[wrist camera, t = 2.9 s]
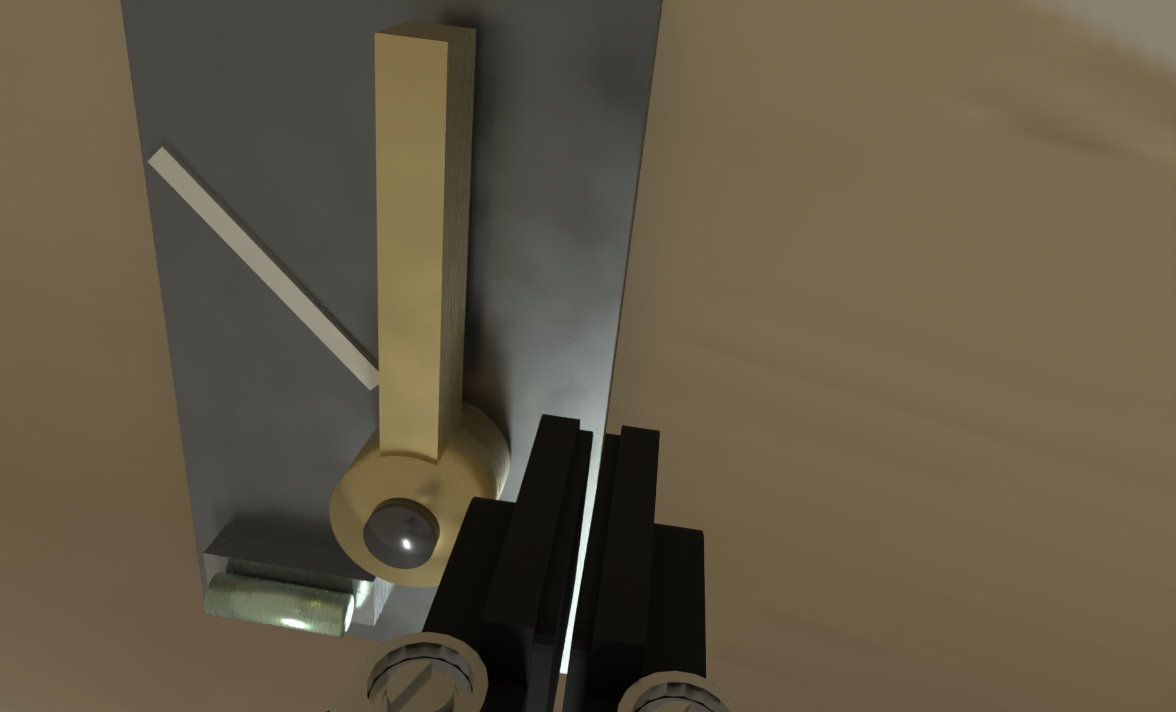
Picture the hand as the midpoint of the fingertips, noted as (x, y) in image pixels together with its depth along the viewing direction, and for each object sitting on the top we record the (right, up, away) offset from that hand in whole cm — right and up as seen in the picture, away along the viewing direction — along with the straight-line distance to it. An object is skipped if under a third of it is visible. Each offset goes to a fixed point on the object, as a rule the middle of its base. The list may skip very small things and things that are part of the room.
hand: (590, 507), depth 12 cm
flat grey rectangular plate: (-6, +2, +16) cm, 17 cm away
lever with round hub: (-4, +4, +13) cm, 14 cm away
